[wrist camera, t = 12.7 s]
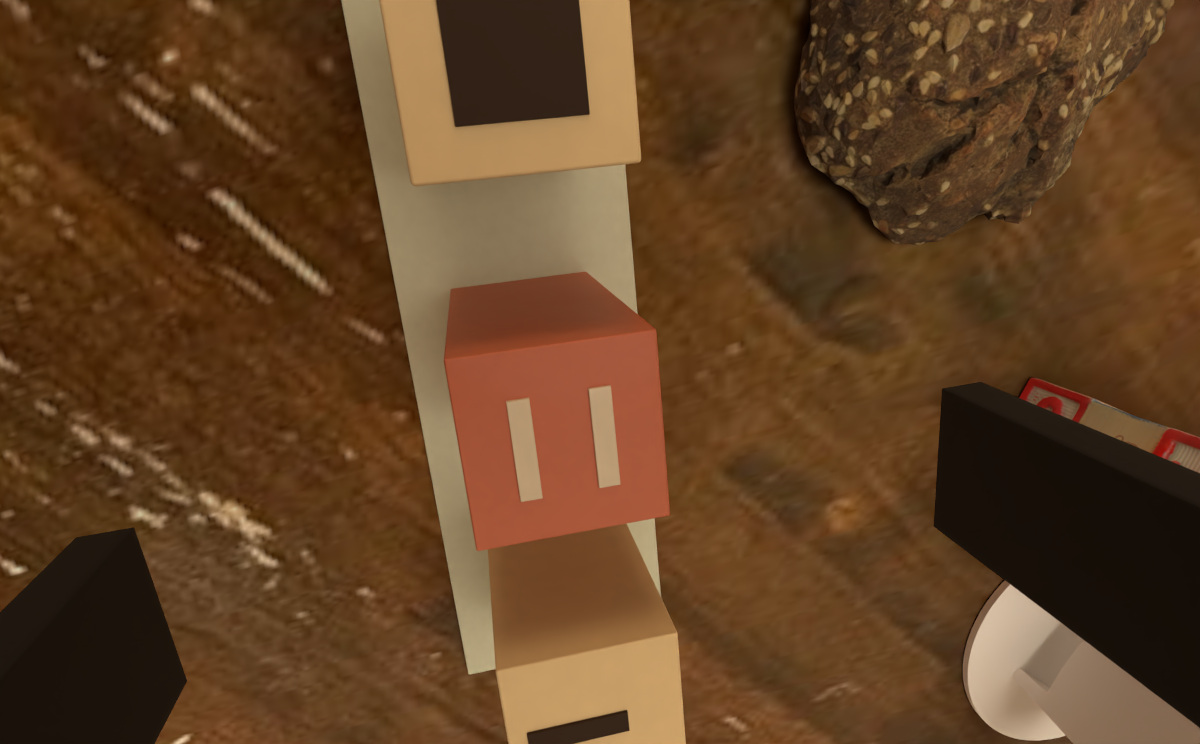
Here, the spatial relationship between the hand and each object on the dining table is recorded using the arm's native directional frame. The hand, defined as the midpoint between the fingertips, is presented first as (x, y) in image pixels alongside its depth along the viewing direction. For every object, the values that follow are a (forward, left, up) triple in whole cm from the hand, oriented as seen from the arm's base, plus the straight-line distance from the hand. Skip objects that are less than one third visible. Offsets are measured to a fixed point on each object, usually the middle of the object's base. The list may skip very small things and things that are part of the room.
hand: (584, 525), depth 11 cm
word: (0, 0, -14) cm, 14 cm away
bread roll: (-8, +16, -14) cm, 23 cm away
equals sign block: (0, 0, -13) cm, 13 cm away
